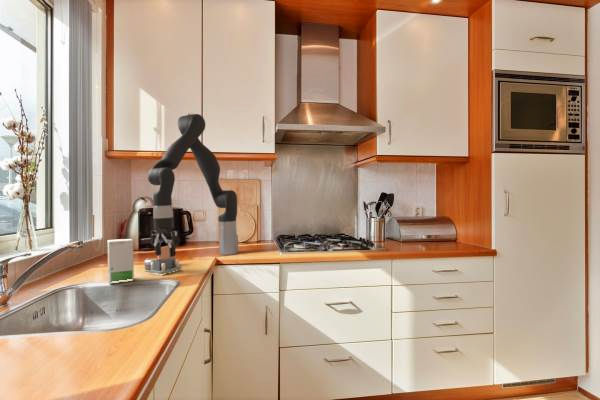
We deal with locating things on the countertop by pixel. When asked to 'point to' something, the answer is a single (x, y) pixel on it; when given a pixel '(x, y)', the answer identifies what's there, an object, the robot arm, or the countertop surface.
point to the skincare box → (120, 259)
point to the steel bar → (168, 261)
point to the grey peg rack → (164, 254)
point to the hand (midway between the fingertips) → (165, 255)
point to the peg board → (164, 268)
